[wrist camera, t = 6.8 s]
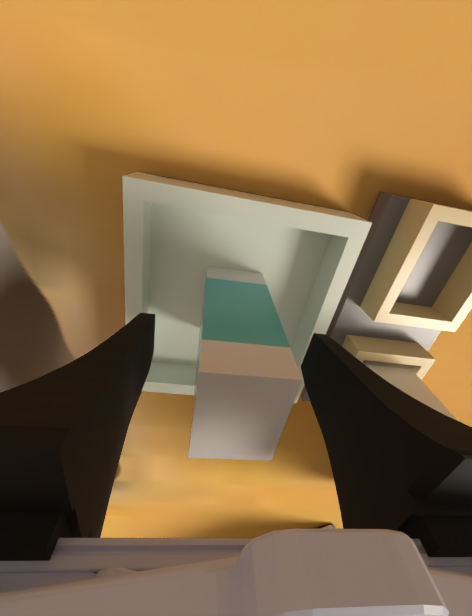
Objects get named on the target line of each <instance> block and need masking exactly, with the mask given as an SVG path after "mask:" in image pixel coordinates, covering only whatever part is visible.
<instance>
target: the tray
mask: <svg viewBox="0 0 472 616" xmlns="http://www.w3.org/2000/svg"><path fill="white" fill-rule="evenodd" d="M122 183H123V232H124V282H125V325H126V324H127V323H129V322H130V321H131V320H132V319H133V318H134V317H136V316H137V315H138V314H139V313H149V314H155V336H154V353H153V357H152V362H151V366H150V370H149V373H148V376H147V378H146V381H145V384H144V386H143V389H142V391H146V392H158V393H171V394H184V395H194V388H195V377H196V366H197V355H198V344H199V333H200V323H201V315H202V306H203V298H204V289H205V281H206V272H207V266H211V267H219V268H227V269H234V270H242V271H250V272H257V273H262V274H263V277H264V279H265V282H266V285H267V287H268V290H269V293H270V295H271V298H272V300H273V303H274V306H275V308H276V311H277V314H278V316H279V319H280V322H281V324H282V327H283V330H284V332H285V335H286V337H287V340H288V343H289V345H290V348H291V351H292V353H293V356H294V359H295V361H296V364H297V367H298V369H299V372H300V375H301V377H302V383H301V385H300V388H299V390H298V393H297V396H296V398H295V401H294V403H297V402H298V399H299V397H300V394H301V392H302V390H303V387H304V385H305V384H304V380H303V375H302V370H301V364H302V362H303V359H304V357H305V354H306V352H307V349H308V347H309V344H310V341H311V339H312V336H313V334H314V333H317V334H326V332H327V330H328V328H329V325H330V323H331V320H332V318H333V316H334V313H335V311H336V308H337V306H338V304H339V301H340V299H341V297H342V294H343V292H344V289H345V287H346V285H347V282H348V280H349V277H350V275H351V273H352V270H353V268H354V266H355V263H356V261H357V258H358V256H359V254H360V251H361V249H362V246H363V244H364V242H365V239H366V237H367V234H368V232H369V230H370V227H371V225H372V222H370V221H368V220H365V219H363V218H361V217H359V216H357V215H354V214H352V213H350V212H346V211H341V210H335V209H330V208H325V207H320V206H314V205H309V204H304V203H299V202H293V201H288V200H283V199H278V198H272V197H267V196H262V195H257V194H252V193H246V192H241V191H236V190H231V189H225V188H220V187H215V186H210V185H204V184H199V183H194V182H189V181H183V180H178V179H173V178H168V177H163V176H157V175H152V174H147V173H142V172H135V173H131V174H128V175H124V176H122Z"/></svg>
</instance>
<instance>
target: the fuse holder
mask: <svg viewBox="0 0 472 616" xmlns="http://www.w3.org/2000/svg"><path fill="white" fill-rule="evenodd" d="M369 221H370V222H372V225H371V227H370V230H369V232H368V234H367V237H366V239H365V242H364V244H363V246H362V249H361V251H360V254H359V256H358V258H357V261H356V263H355V266H354V268H353V270H352V273H351V275H350V277H349V280H348V282H347V285H346V287H345V289H344V292H343V294H342V297H341V299H340V301H339V304H338V306H337V308H336V311H335V313H334V316H333V318H332V320H331V323H330V325H329V328H328V330H327V332H326V335H328V336H329V337H330V338H332V339H333V340H335V341H336V342H337V343H338V344H340V345H341V346H342V347H343V348H345V349H346V350H347V351H348V352H349V353H351V354H352V355H353V356H354V357H356V358H357V359H358V360H359V361H361V362H362V363H363V361H364V360H368V361H378V362H387V363H397V364H406V365H408V366H409V367H410V368H411V369H412V370H413V372H414V373H415V374H416V375H417V376H418V377H419V378H420V379H421V380H422V379H423V377H424V376H425V374H426V373H427V371H428V370H429V369H430V367H431V366H432V364H433V363H434V361H435V360H436V359H435V358H434V357H433V356H432V355H431V354H429V353H428V350H429V349H430V347H431V346H432V344H433V343H434V341H435V340H436V338H437V337H438V335H439V334H440V332H441V331H450V332H455V331H456V330H457V329H458V327H459V326H460V324H461V323H462V321H463V320H464V319H465V317H466V316H467V314H468V313H469V311H470V310H471V309H472V211H471V210H466V209H461V208H456V207H451V206H446V205H442V204H437V203H432V202H427V201H422V200H417V199H412V198H408V197H403V196H398V195H393V194H388V193H383V192H380V194H379V197H378V199H377V201H376V204H375V206H374V209H373V211H372V214H371V216H370V218H369ZM301 397H302V400H304V401H310V399H309V396H308V393H307V390H306V387H305V385H304V387H303V390H302V392H301Z"/></svg>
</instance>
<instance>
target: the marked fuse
mask: <svg viewBox="0 0 472 616" xmlns="http://www.w3.org/2000/svg"><path fill="white" fill-rule="evenodd" d="M301 383H302V377H301V375H300V372H299V369H298V367H297V364H296V361H295V359H294V356H293V353H292V351H291V348H290V345H289V343H288V340H287V337H286V335H285V332H284V330H283V327H282V324H281V322H280V319H279V316H278V314H277V311H276V308H275V306H274V303H273V300H272V298H271V295H270V293H269V290H268V287H267V285H266V282H265V279H264V277H263V274H262V273H257V272H250V271H242V270H234V269H227V268H219V267H211V266H207V272H206V281H205V289H204V298H203V306H202V315H201V323H200V333H199V344H198V355H197V366H196V377H195V388H194V398H193V409H192V420H191V431H190V442H189V453H188V458H211V459H240V460H269V461H272V458H273V456H274V453H275V450H276V448H277V445H278V443H279V440H280V437H281V435H282V432H283V429H284V427H285V424H286V422H287V419H288V416H289V414H290V411H291V409H292V406H293V403H294V401H295V398H296V396H297V393H298V390H299V388H300V385H301Z"/></svg>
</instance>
